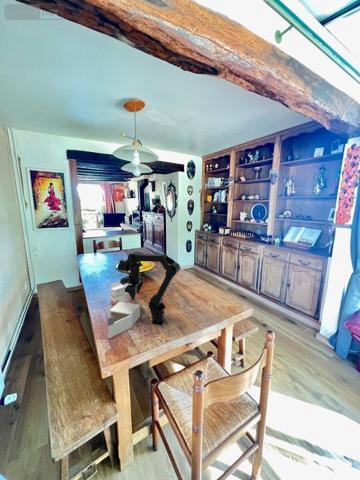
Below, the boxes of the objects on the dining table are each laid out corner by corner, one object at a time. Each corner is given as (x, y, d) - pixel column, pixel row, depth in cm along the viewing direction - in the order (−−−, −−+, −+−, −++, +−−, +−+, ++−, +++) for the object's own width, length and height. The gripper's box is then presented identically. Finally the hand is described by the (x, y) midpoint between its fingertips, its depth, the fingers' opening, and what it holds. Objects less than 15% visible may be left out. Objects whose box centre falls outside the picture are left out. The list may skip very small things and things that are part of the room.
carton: (139, 316, 126) (139, 304, 125) (131, 326, 116) (131, 313, 114) (119, 313, 129) (119, 301, 128) (110, 322, 119) (109, 310, 117)
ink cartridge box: (115, 306, 138) (114, 285, 135) (111, 303, 141) (110, 284, 138) (125, 301, 144) (125, 282, 142) (121, 299, 147) (120, 280, 145)
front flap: (131, 326, 115) (131, 308, 113) (132, 327, 114) (132, 308, 112) (108, 338, 105) (107, 318, 103) (109, 339, 105) (108, 319, 102)
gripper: (128, 267, 131) (128, 289, 134) (115, 277, 113) (116, 303, 116) (144, 268, 130) (145, 290, 133) (134, 278, 111) (135, 304, 114)
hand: (135, 296), depth 124 cm, fingers open, 9 cm apart
